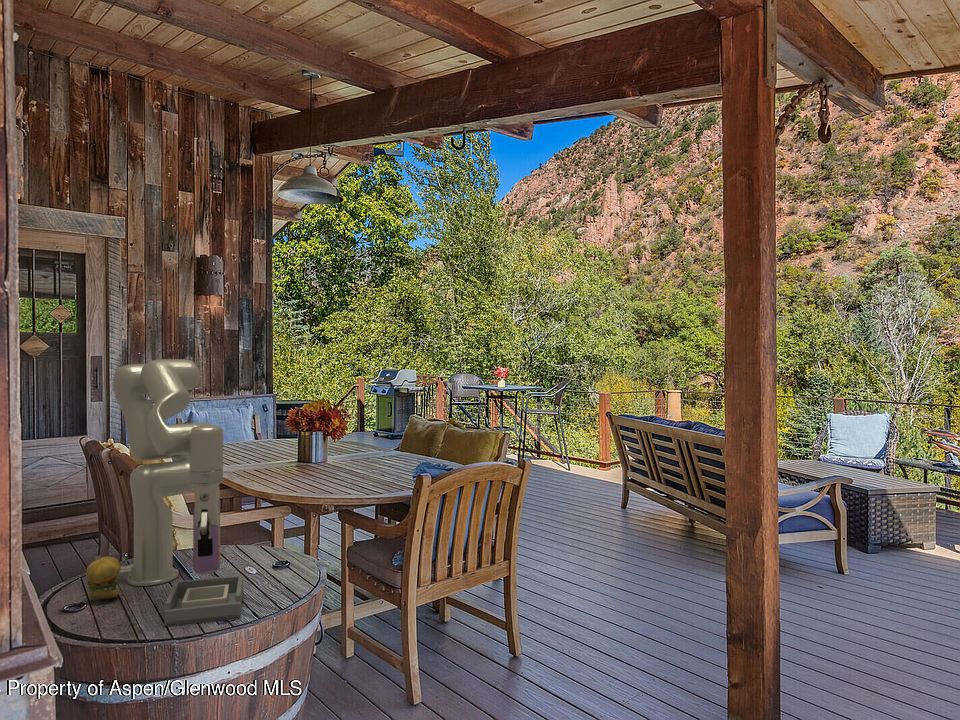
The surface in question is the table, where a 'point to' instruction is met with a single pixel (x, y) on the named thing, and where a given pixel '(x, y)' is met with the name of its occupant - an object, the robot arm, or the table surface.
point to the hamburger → (103, 577)
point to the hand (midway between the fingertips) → (206, 551)
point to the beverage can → (206, 562)
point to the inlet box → (204, 600)
